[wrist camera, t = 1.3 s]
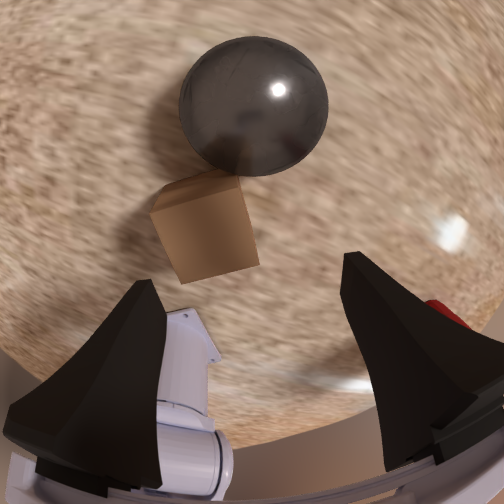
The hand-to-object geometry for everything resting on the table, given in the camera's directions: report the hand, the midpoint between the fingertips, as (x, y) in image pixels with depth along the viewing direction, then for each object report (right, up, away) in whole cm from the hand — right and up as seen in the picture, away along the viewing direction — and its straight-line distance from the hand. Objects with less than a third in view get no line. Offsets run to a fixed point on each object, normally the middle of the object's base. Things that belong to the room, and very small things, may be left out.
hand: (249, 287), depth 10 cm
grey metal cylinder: (0, +11, +6) cm, 12 cm away
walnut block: (-3, +5, +10) cm, 11 cm away
